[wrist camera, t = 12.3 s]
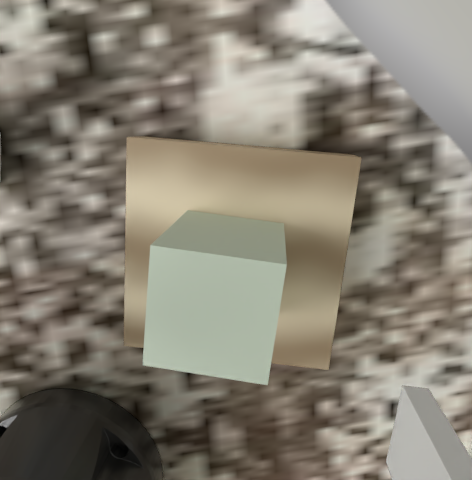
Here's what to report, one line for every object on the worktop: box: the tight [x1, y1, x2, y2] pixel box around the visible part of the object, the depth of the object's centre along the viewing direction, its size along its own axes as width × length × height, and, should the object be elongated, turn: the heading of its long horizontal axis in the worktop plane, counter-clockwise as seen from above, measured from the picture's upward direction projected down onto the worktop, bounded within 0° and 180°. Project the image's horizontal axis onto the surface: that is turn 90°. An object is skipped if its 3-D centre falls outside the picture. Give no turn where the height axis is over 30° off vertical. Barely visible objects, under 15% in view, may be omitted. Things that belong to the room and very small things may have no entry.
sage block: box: [142, 210, 287, 385], centre depth 23 cm, size 6×6×8 cm
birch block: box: [124, 136, 362, 370], centre depth 29 cm, size 14×14×4 cm
